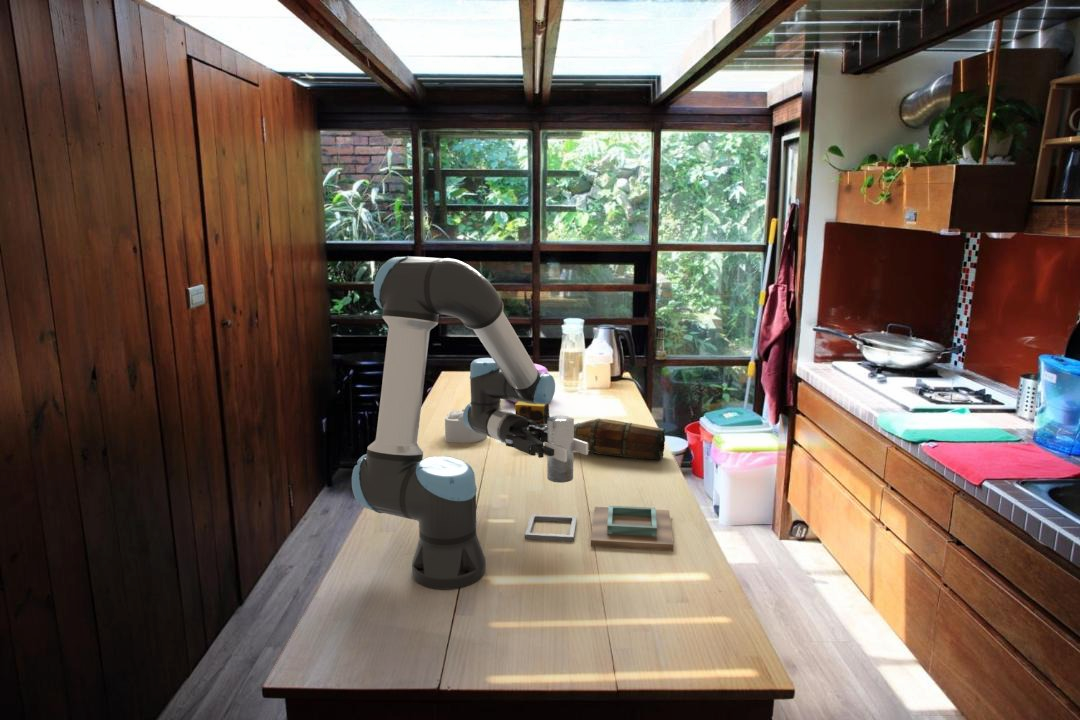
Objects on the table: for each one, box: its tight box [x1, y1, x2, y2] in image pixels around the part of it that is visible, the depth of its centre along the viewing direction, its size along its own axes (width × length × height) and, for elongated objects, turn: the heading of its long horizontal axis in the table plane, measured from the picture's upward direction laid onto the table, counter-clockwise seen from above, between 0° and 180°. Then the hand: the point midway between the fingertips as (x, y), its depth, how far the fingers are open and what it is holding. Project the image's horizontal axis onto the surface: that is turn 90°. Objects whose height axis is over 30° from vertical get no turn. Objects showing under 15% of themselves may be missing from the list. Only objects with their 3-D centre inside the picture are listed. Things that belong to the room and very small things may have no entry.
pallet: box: [590, 505, 674, 552], centre depth 170 cm, size 18×18×4 cm
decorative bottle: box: [529, 418, 666, 461], centre depth 222 cm, size 11×11×45 cm
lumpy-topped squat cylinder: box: [444, 408, 488, 444], centre depth 236 cm, size 10×13×9 cm
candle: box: [514, 401, 551, 425], centre depth 243 cm, size 10×10×10 cm
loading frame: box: [524, 513, 578, 542], centre depth 171 cm, size 11×11×1 cm
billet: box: [546, 415, 575, 484], centre depth 168 cm, size 6×6×14 cm
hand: (576, 452), depth 164 cm, fingers closed on billet, 6 cm apart
